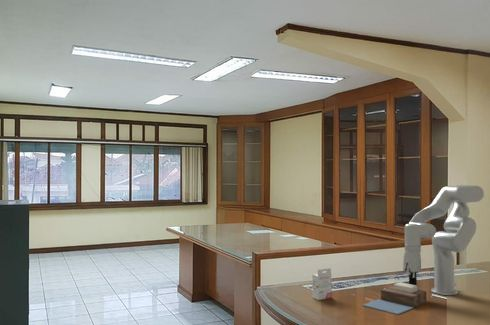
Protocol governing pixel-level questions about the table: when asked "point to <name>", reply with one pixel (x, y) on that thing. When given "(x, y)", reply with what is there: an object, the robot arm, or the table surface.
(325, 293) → the ink cartridge box
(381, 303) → the mat
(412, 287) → the block
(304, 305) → the table surface
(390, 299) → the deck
